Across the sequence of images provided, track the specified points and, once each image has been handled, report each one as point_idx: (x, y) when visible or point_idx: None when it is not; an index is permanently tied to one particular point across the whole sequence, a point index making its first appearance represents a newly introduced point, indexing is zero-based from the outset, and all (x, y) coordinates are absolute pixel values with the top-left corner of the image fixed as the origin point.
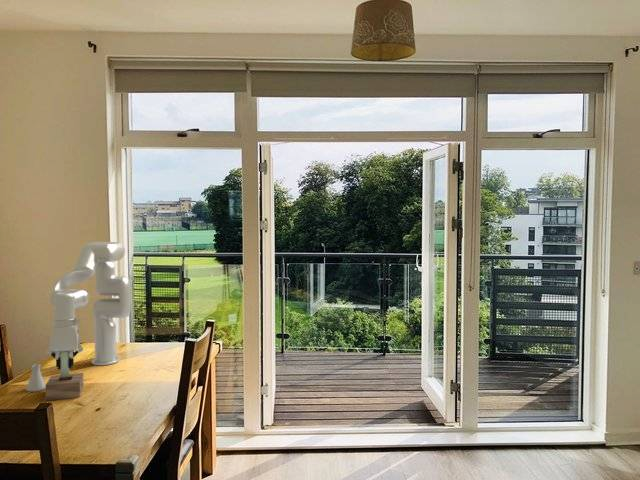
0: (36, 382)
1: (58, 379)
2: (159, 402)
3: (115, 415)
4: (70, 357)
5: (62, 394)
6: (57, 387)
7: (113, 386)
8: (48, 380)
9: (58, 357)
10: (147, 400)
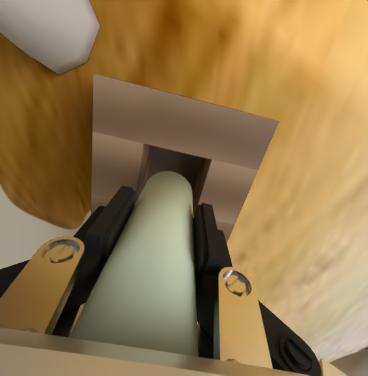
0: (30, 47)
1: (140, 168)
2: (358, 326)
3: None
4: (198, 326)
5: None
6: None
7: (347, 170)
8: (92, 168)
9: (78, 316)
10: (346, 309)
